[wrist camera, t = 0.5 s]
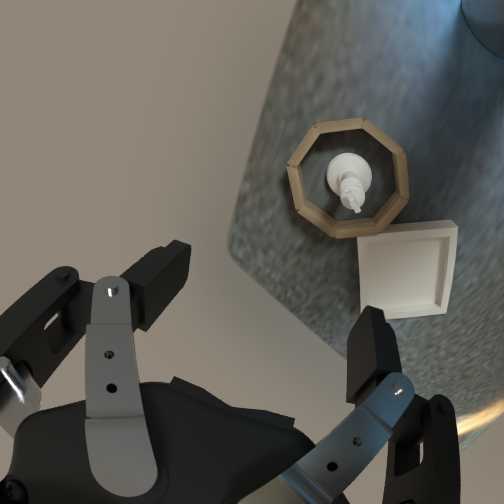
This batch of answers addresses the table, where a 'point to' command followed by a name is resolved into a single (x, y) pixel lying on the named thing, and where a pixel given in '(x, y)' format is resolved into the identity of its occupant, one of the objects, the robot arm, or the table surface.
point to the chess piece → (349, 179)
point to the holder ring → (356, 225)
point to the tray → (408, 268)
